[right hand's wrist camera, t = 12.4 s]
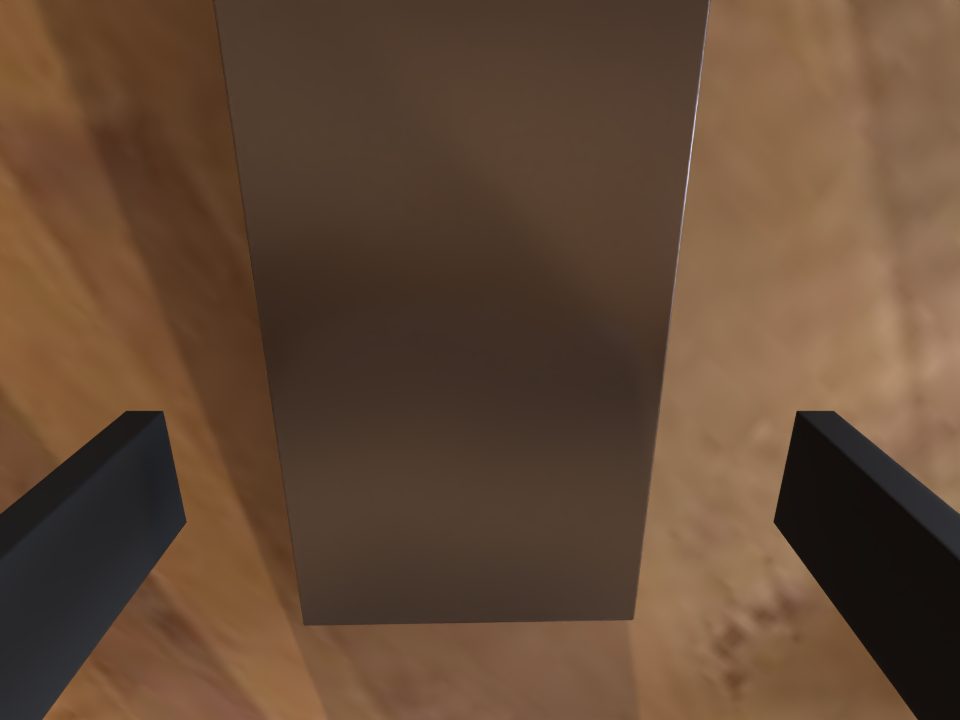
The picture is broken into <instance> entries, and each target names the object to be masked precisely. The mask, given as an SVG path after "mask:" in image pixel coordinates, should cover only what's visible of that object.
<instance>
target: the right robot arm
mask: <svg viewBox="0 0 960 720" xmlns="http://www.w3.org/2000/svg"><path fill="white" fill-rule="evenodd" d="M185 523H186V518H185V513H184V508H183V503H182V498H181V494H180V489H179V484H178V479H177V475H176V470H175V465H174V460H173V455H172V451H171V446H170V441H169V436H168V432H167V427H166V422H165V417H164V412H163V411H126V412H124V413H123V414H122V415H121V416H120V417H118V418H117V419H116V420H115V421H113V422H112V423H111V424H110V425H109V426H107V427H106V428H105V429H104V430H103V431H101V432H100V433H99V434H98V435H96V436H95V437H94V438H93V439H92V440H90V441H89V442H88V443H87V444H85V445H84V446H83V447H82V448H81V449H79V450H78V451H77V452H76V453H75V454H73V455H72V456H71V457H70V458H68V459H67V460H66V461H65V462H64V463H62V464H61V465H60V466H59V467H57V468H56V469H55V470H54V471H53V472H51V473H50V474H49V475H48V476H47V477H45V478H44V479H43V480H42V481H40V482H39V483H38V484H37V485H36V486H34V487H33V488H32V489H31V490H29V491H28V492H27V493H26V494H25V495H23V496H22V497H21V498H20V499H19V500H17V501H16V502H15V503H14V504H12V505H11V506H10V507H9V508H8V509H6V510H5V511H4V512H3V513H1V514H0V720H42V719H43V718H44V716H45V715H46V714H47V712H48V711H49V710H50V708H51V707H52V705H53V704H54V703H55V701H56V700H57V699H58V697H59V696H60V694H61V693H62V692H63V690H64V689H65V688H66V686H67V685H68V684H69V682H70V681H71V679H72V678H73V677H74V675H75V674H76V673H77V671H78V670H79V668H80V667H81V666H82V664H83V663H84V662H85V660H86V659H87V658H88V656H89V655H90V653H91V652H92V651H93V649H94V648H95V647H96V645H97V644H98V642H99V641H100V640H101V638H102V637H103V636H104V634H105V633H106V632H107V630H108V629H109V627H110V626H111V625H112V623H113V622H114V621H115V619H116V618H117V616H118V615H119V614H120V612H121V611H122V610H123V608H124V607H125V606H126V604H127V603H128V601H129V600H130V599H131V597H132V596H133V595H134V593H135V592H136V590H137V589H138V588H139V586H140V585H141V584H142V582H143V581H144V580H145V578H146V577H147V575H148V574H149V573H150V571H151V570H152V569H153V567H154V566H155V564H156V563H157V562H158V560H159V559H160V558H161V556H162V555H163V554H164V552H165V551H166V549H167V548H168V547H169V545H170V544H171V543H172V541H173V540H174V538H175V537H176V536H177V534H178V533H179V532H180V530H181V529H182V528H183V526H184V525H185ZM774 523H775V525H776V526H777V528H778V529H779V530H780V532H781V533H782V534H783V536H784V537H785V538H786V540H787V541H788V543H789V544H790V545H791V547H792V548H793V549H794V551H795V552H796V554H797V555H798V556H799V558H800V559H801V560H802V562H803V563H804V564H805V566H806V567H807V569H808V570H809V571H810V573H811V574H812V575H813V577H814V578H815V580H816V581H817V582H818V584H819V585H820V586H821V588H822V589H823V590H824V592H825V593H826V595H827V596H828V597H829V599H830V600H831V601H832V603H833V604H834V606H835V607H836V608H837V610H838V611H839V612H840V614H841V615H842V616H843V618H844V619H845V621H846V622H847V623H848V625H849V626H850V627H851V629H852V630H853V632H854V633H855V634H856V636H857V637H858V638H859V640H860V641H861V642H862V644H863V645H864V647H865V648H866V649H867V651H868V652H869V653H870V655H871V656H872V658H873V659H874V660H875V662H876V663H877V664H878V666H879V667H880V668H881V670H882V671H883V673H884V674H885V675H886V677H887V678H888V679H889V681H890V682H891V684H892V685H893V686H894V688H895V689H896V690H897V692H898V693H899V694H900V696H901V697H902V699H903V700H904V701H905V703H906V704H907V705H908V707H909V708H910V710H911V711H912V712H913V714H914V715H915V716H916V718H917V719H918V720H960V514H959V513H957V512H956V511H955V510H954V509H952V508H951V507H950V506H949V505H948V504H946V503H945V502H944V501H943V500H941V499H940V498H939V497H938V496H937V495H935V494H934V493H933V492H932V491H931V490H929V489H928V488H927V487H926V486H924V485H923V484H922V483H921V482H920V481H918V480H917V479H916V478H915V477H913V476H912V475H911V474H910V473H909V472H907V471H906V470H905V469H904V468H903V467H901V466H900V465H899V464H898V463H896V462H895V461H894V460H893V459H892V458H890V457H889V456H888V455H887V454H885V453H884V452H883V451H882V450H881V449H879V448H878V447H877V446H876V445H875V444H873V443H872V442H871V441H870V440H868V439H867V438H866V437H865V436H864V435H862V434H861V433H860V432H859V431H857V430H856V429H855V428H854V427H853V426H851V425H850V424H849V423H848V422H847V421H845V420H844V419H843V418H842V417H840V416H839V415H838V414H837V413H836V412H834V411H797V412H796V417H795V422H794V427H793V432H792V436H791V441H790V446H789V451H788V455H787V460H786V465H785V470H784V475H783V479H782V484H781V489H780V494H779V498H778V503H777V508H776V513H775V518H774Z"/></svg>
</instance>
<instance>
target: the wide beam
mask: <svg viewBox="0 0 960 720" xmlns="http://www.w3.org/2000/svg"><path fill="white" fill-rule="evenodd" d="M213 3H214V10H215V17H216V24H217V31H218V38H219V45H220V52H221V58H222V65H223V72H224V79H225V86H226V93H227V100H228V107H229V113H230V120H231V127H232V134H233V141H234V148H235V155H236V162H237V169H238V175H239V182H240V189H241V196H242V203H243V210H244V217H245V224H246V231H247V237H248V244H249V251H250V258H251V265H252V272H253V279H254V286H255V292H256V299H257V306H258V313H259V320H260V327H261V334H262V341H263V348H264V354H265V361H266V368H267V375H268V382H269V389H270V396H271V403H272V410H273V416H274V423H275V430H276V437H277V444H278V451H279V458H280V465H281V471H282V478H283V485H284V492H285V499H286V506H287V513H288V520H289V527H290V533H291V540H292V547H293V554H294V561H295V568H296V575H297V582H298V589H299V595H300V602H301V609H302V616H303V623H304V625H365V624H424V623H483V622H542V621H601V620H633V619H634V614H635V605H636V597H637V589H638V581H639V573H640V565H641V557H642V549H643V541H644V533H645V525H646V517H647V509H648V501H649V492H650V484H651V476H652V468H653V460H654V452H655V444H656V436H657V428H658V420H659V412H660V404H661V396H662V388H663V379H664V371H665V363H666V355H667V347H668V339H669V331H670V323H671V315H672V307H673V299H674V291H675V283H676V275H677V266H678V258H679V250H680V242H681V234H682V226H683V218H684V210H685V202H686V194H687V186H688V178H689V170H690V162H691V154H692V145H693V137H694V129H695V121H696V113H697V105H698V97H699V89H700V81H701V73H702V65H703V57H704V49H705V41H706V32H707V24H708V16H709V8H710V0H213Z"/></svg>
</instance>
